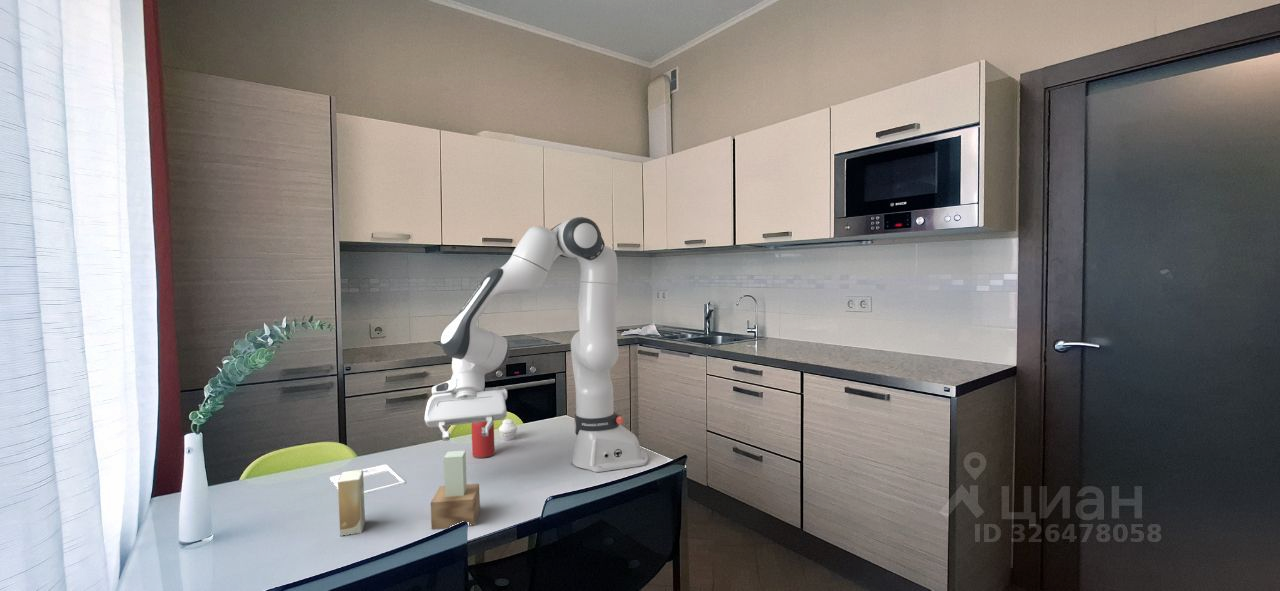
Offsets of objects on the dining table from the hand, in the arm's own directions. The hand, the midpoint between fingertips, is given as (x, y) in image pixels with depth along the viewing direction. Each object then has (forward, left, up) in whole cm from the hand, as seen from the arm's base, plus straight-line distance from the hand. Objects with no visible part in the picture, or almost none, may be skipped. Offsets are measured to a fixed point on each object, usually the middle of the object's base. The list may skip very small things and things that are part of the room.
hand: (465, 437), depth 134 cm
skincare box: (+22, +14, -15) cm, 30 cm away
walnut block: (0, +13, -15) cm, 19 cm away
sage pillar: (0, +13, -9) cm, 15 cm away
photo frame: (+29, -15, -16) cm, 36 cm away
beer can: (0, -30, -15) cm, 34 cm away
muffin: (-6, -45, -15) cm, 48 cm away
